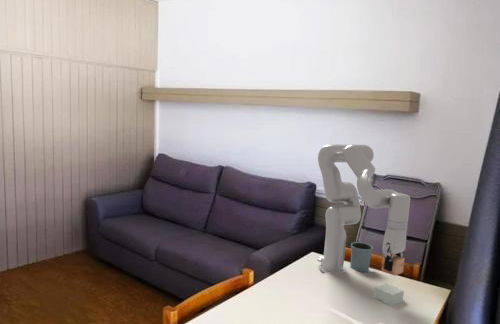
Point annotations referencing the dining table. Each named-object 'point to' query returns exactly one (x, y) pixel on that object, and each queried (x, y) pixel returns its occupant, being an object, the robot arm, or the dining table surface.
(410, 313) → the dining table surface
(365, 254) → the teal cup
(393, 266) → the top block
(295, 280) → the dining table surface
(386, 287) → the base block
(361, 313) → the dining table surface
